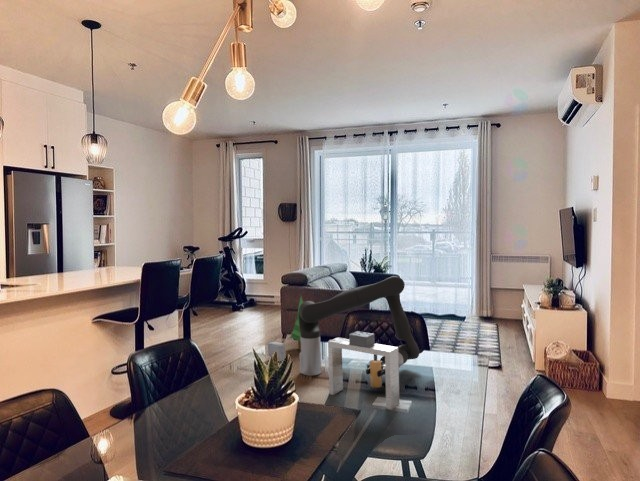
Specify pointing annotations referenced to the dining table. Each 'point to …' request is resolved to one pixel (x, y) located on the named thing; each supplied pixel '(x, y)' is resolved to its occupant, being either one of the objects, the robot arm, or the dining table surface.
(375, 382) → the orange plug
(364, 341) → the white arch
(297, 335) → the decorative tree
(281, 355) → the medicine box
